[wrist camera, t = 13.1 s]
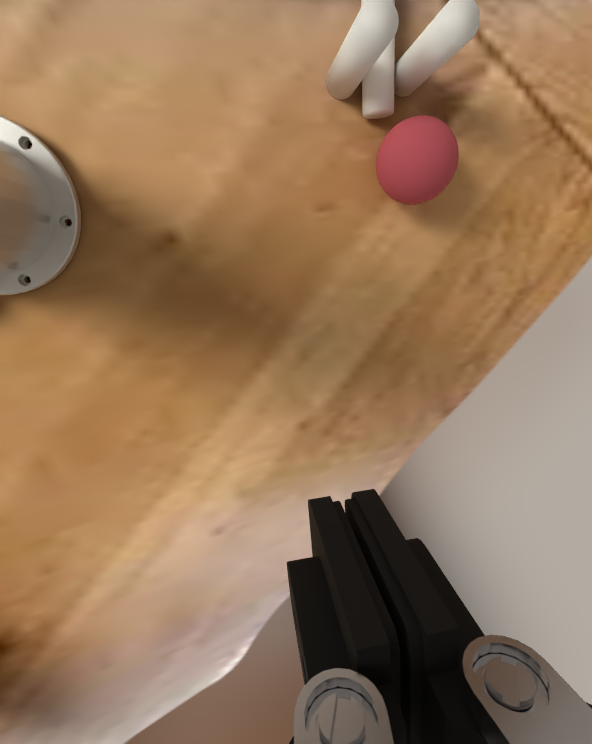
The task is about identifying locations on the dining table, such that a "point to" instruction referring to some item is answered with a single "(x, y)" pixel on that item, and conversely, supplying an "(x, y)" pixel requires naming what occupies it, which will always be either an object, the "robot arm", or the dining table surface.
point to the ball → (417, 159)
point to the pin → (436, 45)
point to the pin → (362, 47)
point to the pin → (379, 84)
